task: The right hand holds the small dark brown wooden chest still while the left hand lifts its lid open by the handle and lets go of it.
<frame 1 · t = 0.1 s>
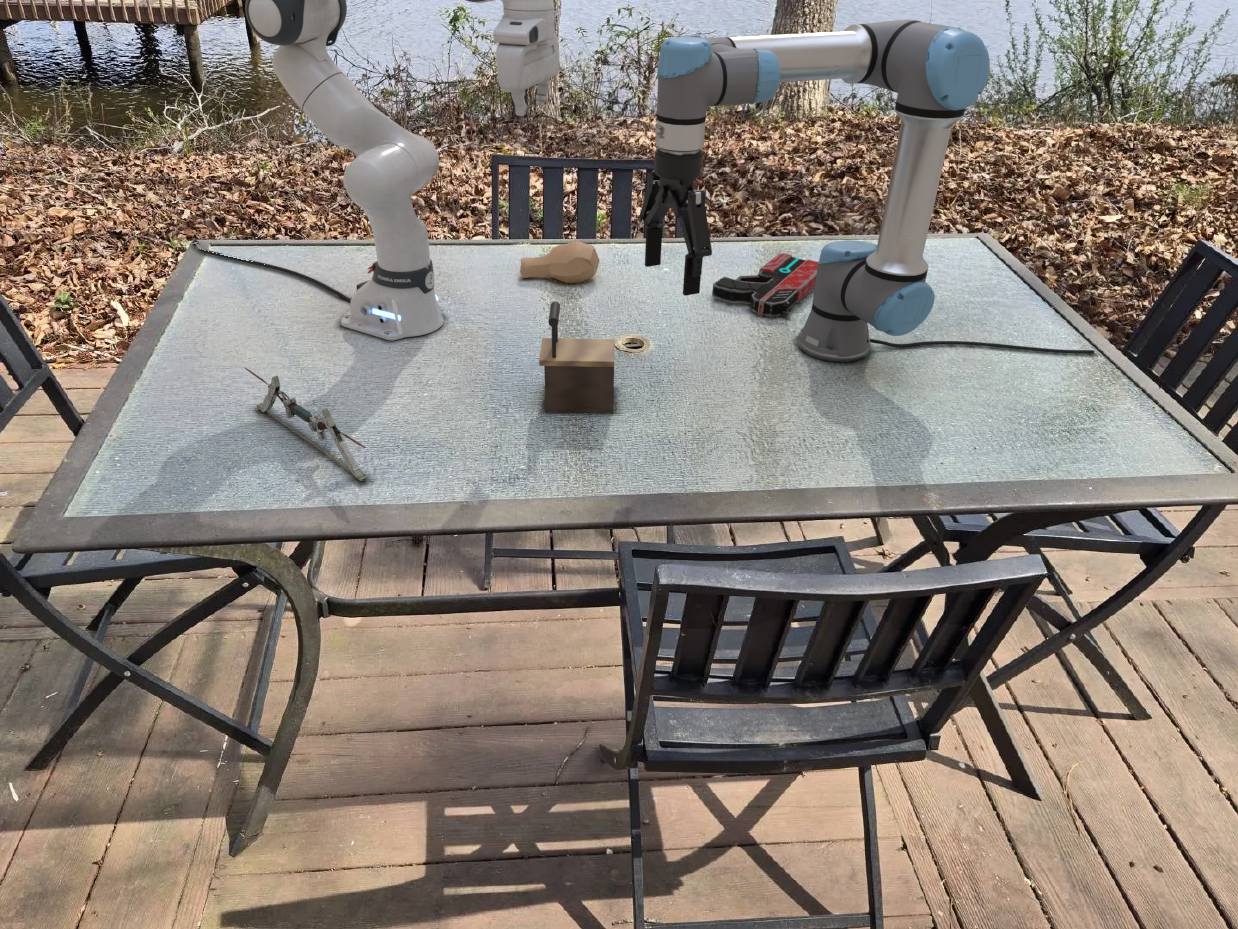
left hand: (531, 109, 161), 48 cm above the table, tool pointing down, fingers open, 8 cm apart
right hand: (671, 279, 147), 28 cm above the table, tool pointing down, fingers open, 13 cm apart
squash: (559, 278, 220), on the table
chest: (580, 400, 169), on the table
lid: (577, 332, 161), point 14 cm above the table, hinge at 0.0°
bow: (309, 442, 154), on the table
gun: (770, 291, 216), on the table
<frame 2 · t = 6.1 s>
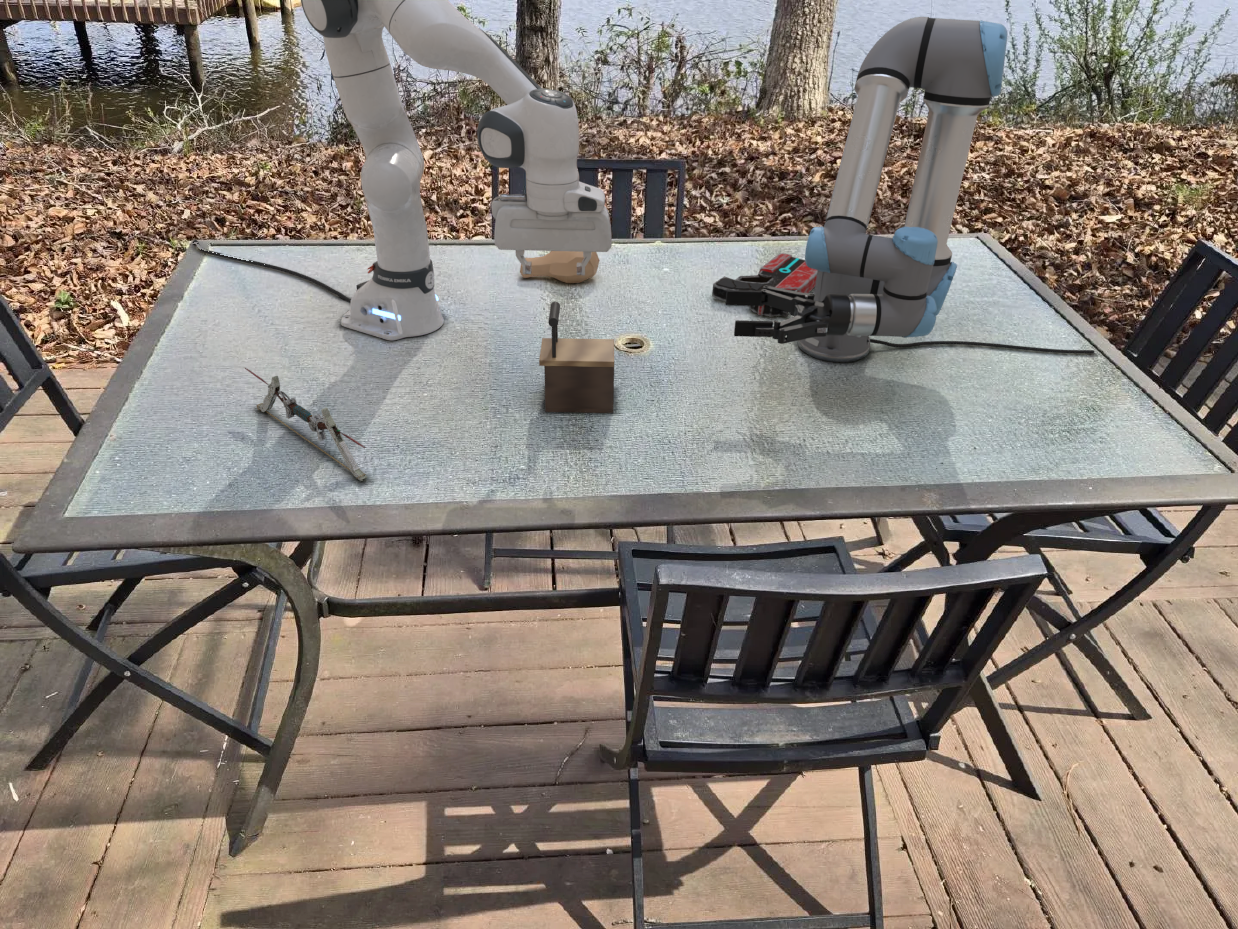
left hand: (554, 273, 155), 26 cm above the table, tool pointing down, fingers open, 8 cm apart
right hand: (730, 312, 159), 19 cm above the table, tool horizontal, fingers open, 13 cm apart
nothing on the table moved.
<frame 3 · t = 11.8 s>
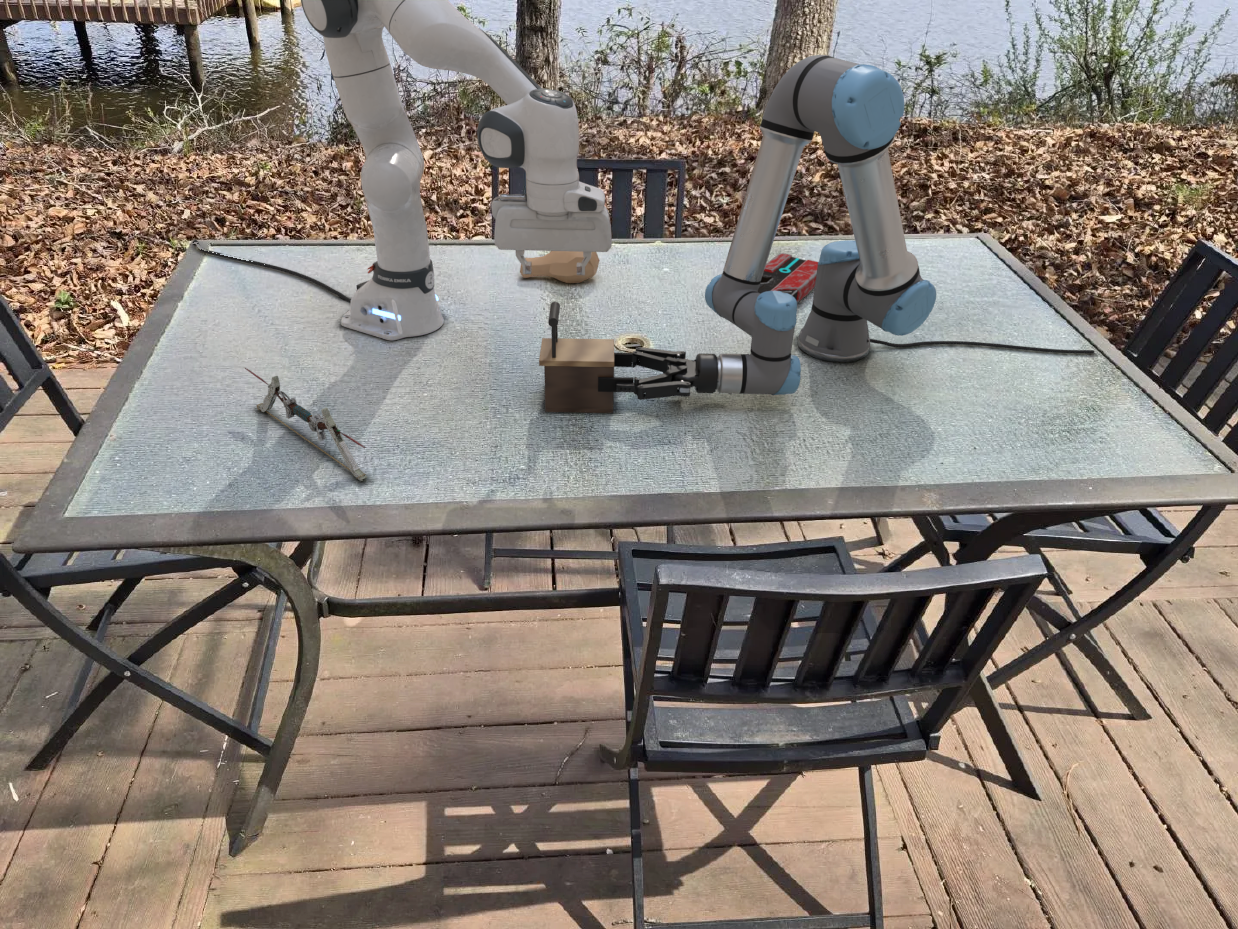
left hand: (554, 273, 155), 26 cm above the table, tool pointing down, fingers open, 8 cm apart
right hand: (598, 371, 165), 6 cm above the table, tool horizontal, fingers closed on chest, 9 cm apart
chest: (580, 400, 169), on the table, touching right hand
everything else where it was.
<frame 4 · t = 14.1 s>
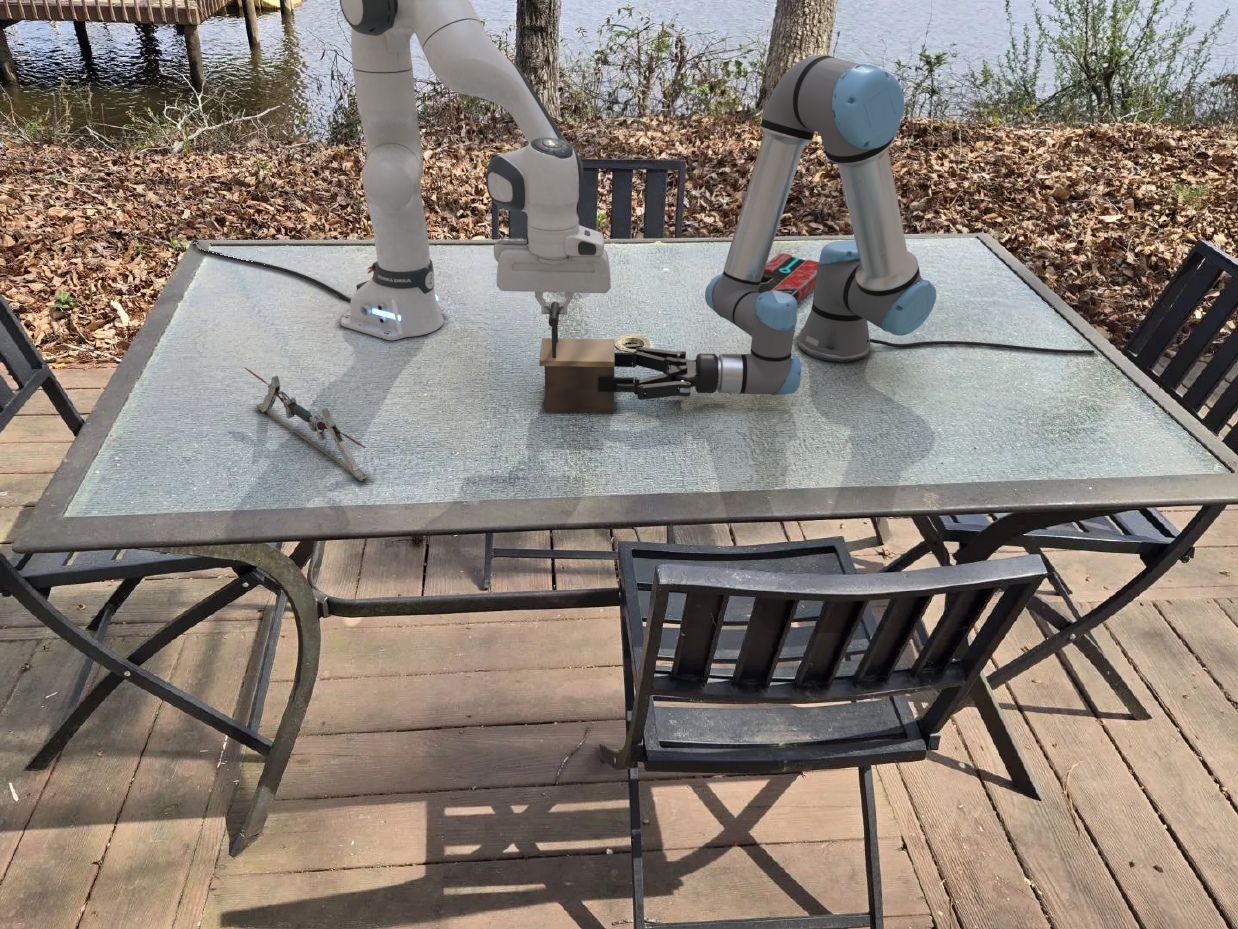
left hand: (554, 313, 159), 18 cm above the table, tool pointing down, fingers closed on lid, 2 cm apart
right hand: (598, 371, 165), 6 cm above the table, tool horizontal, fingers closed on chest, 9 cm apart
chest: (580, 400, 169), on the table, touching right hand
lid: (577, 332, 161), point 14 cm above the table, hinge at -0.1°, touching left hand
everything else where it was.
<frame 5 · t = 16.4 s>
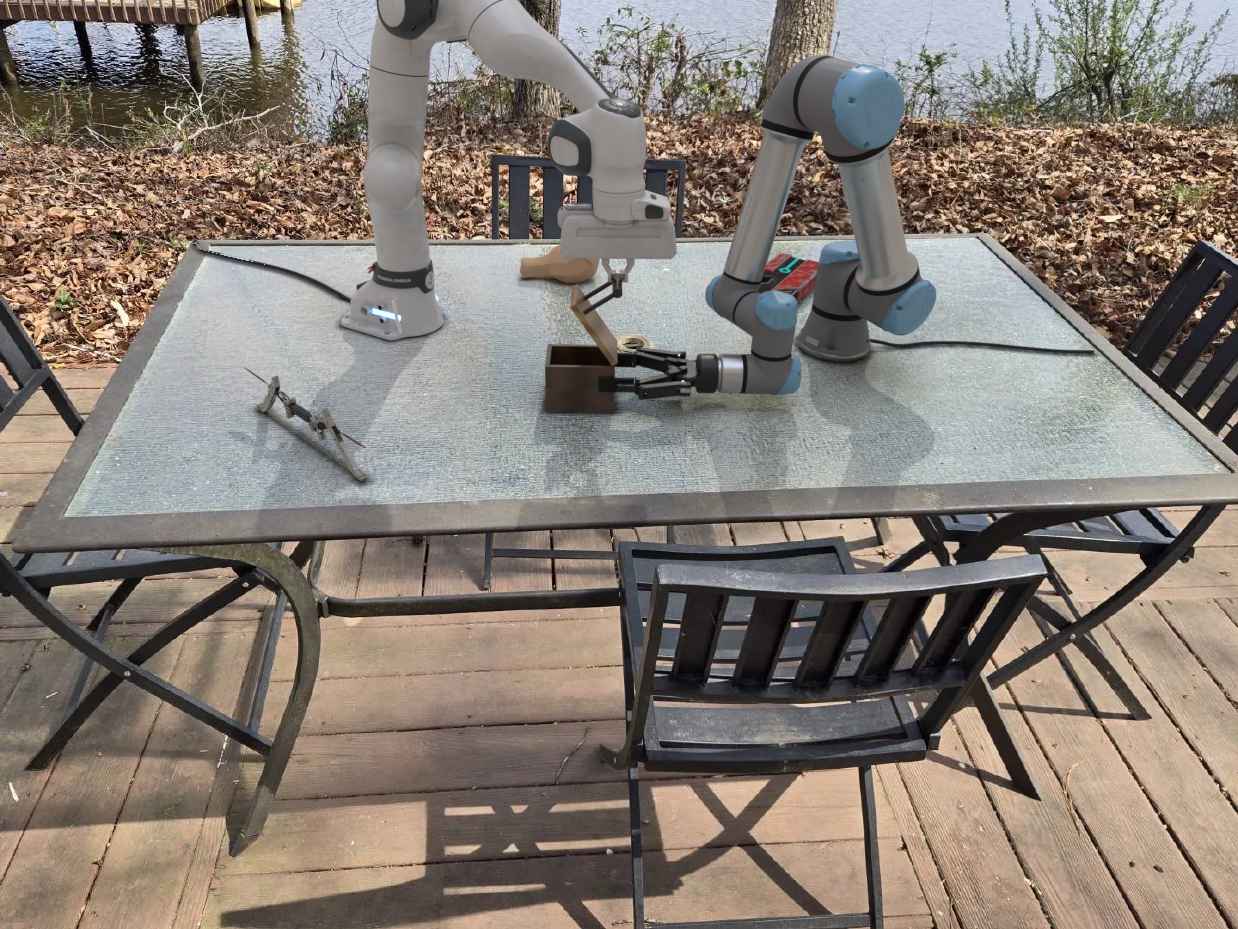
left hand: (617, 281, 155), 24 cm above the table, tool pointing down, fingers closed, pressing on lid
right hand: (598, 371, 165), 6 cm above the table, tool horizontal, fingers closed on chest, 9 cm apart
chest: (580, 400, 169), on the table, touching right hand
lid: (612, 313, 159), point 18 cm above the table, hinge at 55.9°, touching left hand
everything else where it was.
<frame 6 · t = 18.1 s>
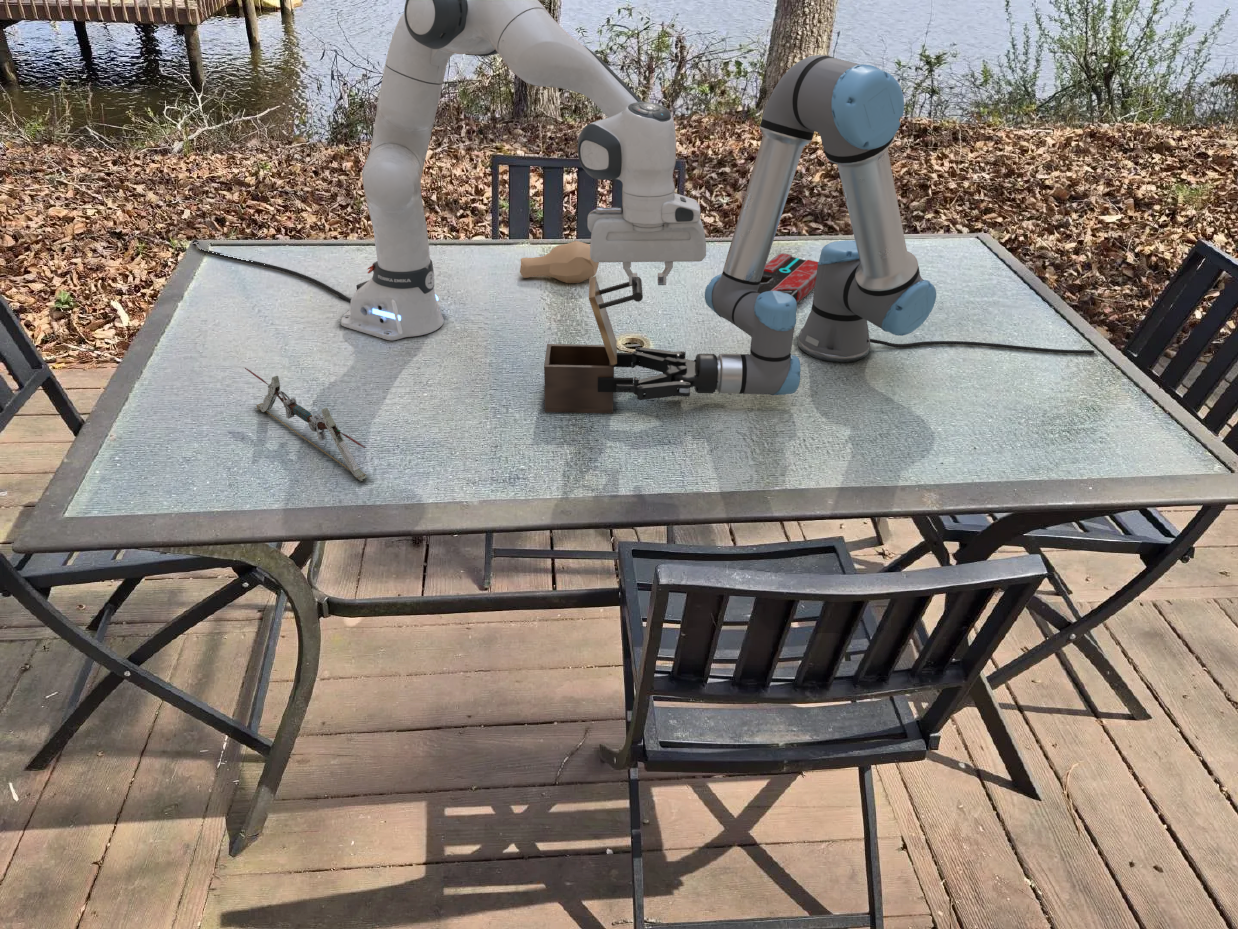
left hand: (647, 284, 156), 24 cm above the table, tool pointing down, fingers open, 4 cm apart
right hand: (598, 371, 165), 6 cm above the table, tool horizontal, fingers closed on chest, 9 cm apart
chest: (579, 400, 169), on the table, touching right hand
lid: (624, 314, 159), point 18 cm above the table, hinge at 72.1°, touching left hand
everything else where it was.
when the right hand's fingers open (6 cm above the table, at t = 21.5 s): chest stays where it is, on the table.
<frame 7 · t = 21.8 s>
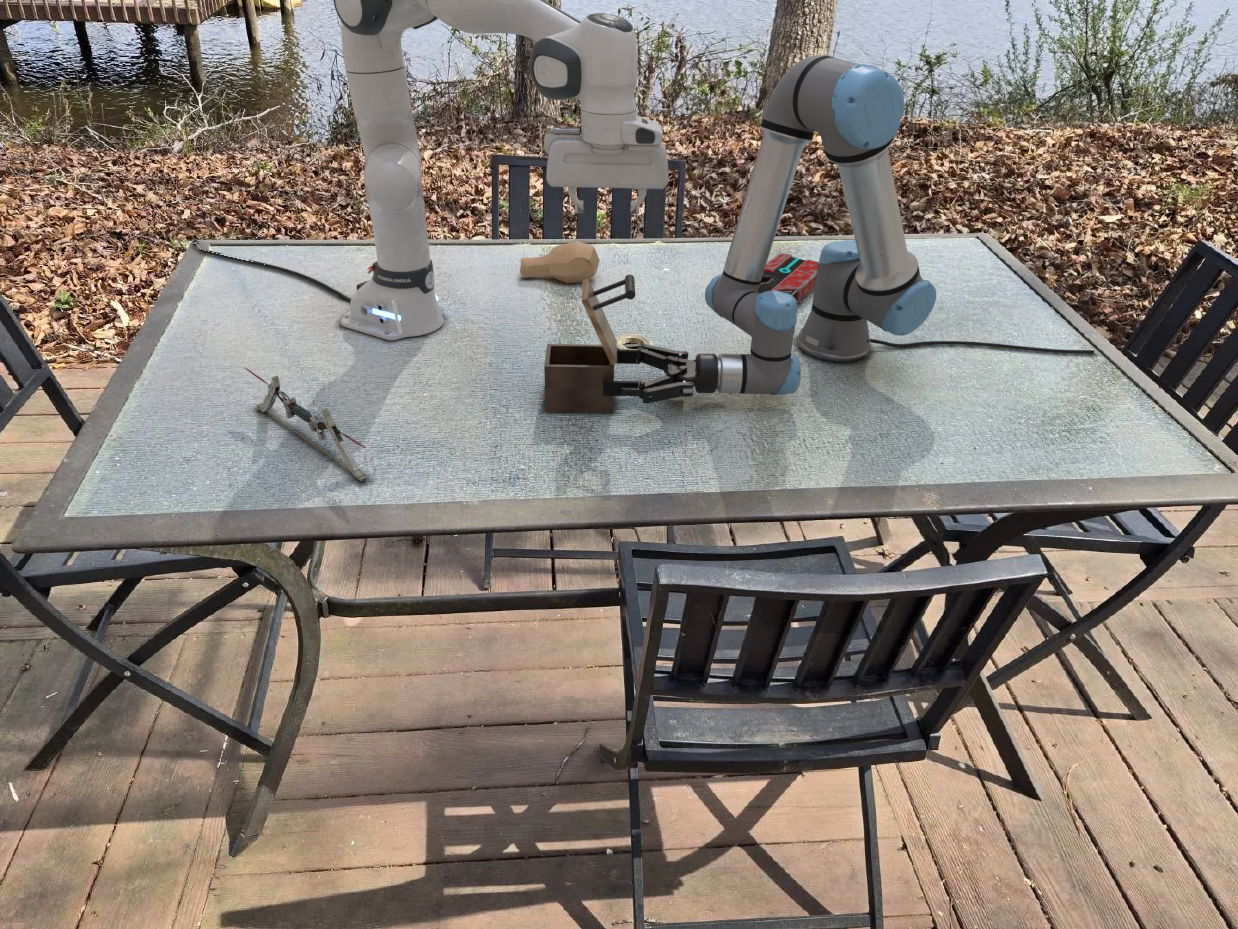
left hand: (606, 212, 149), 37 cm above the table, tool pointing down, fingers open, 8 cm apart
right hand: (602, 371, 165), 6 cm above the table, tool horizontal, fingers open, 12 cm apart
chest: (579, 400, 169), on the table
lid: (619, 313, 159), point 18 cm above the table, hinge at 66.3°
everything else where it was.
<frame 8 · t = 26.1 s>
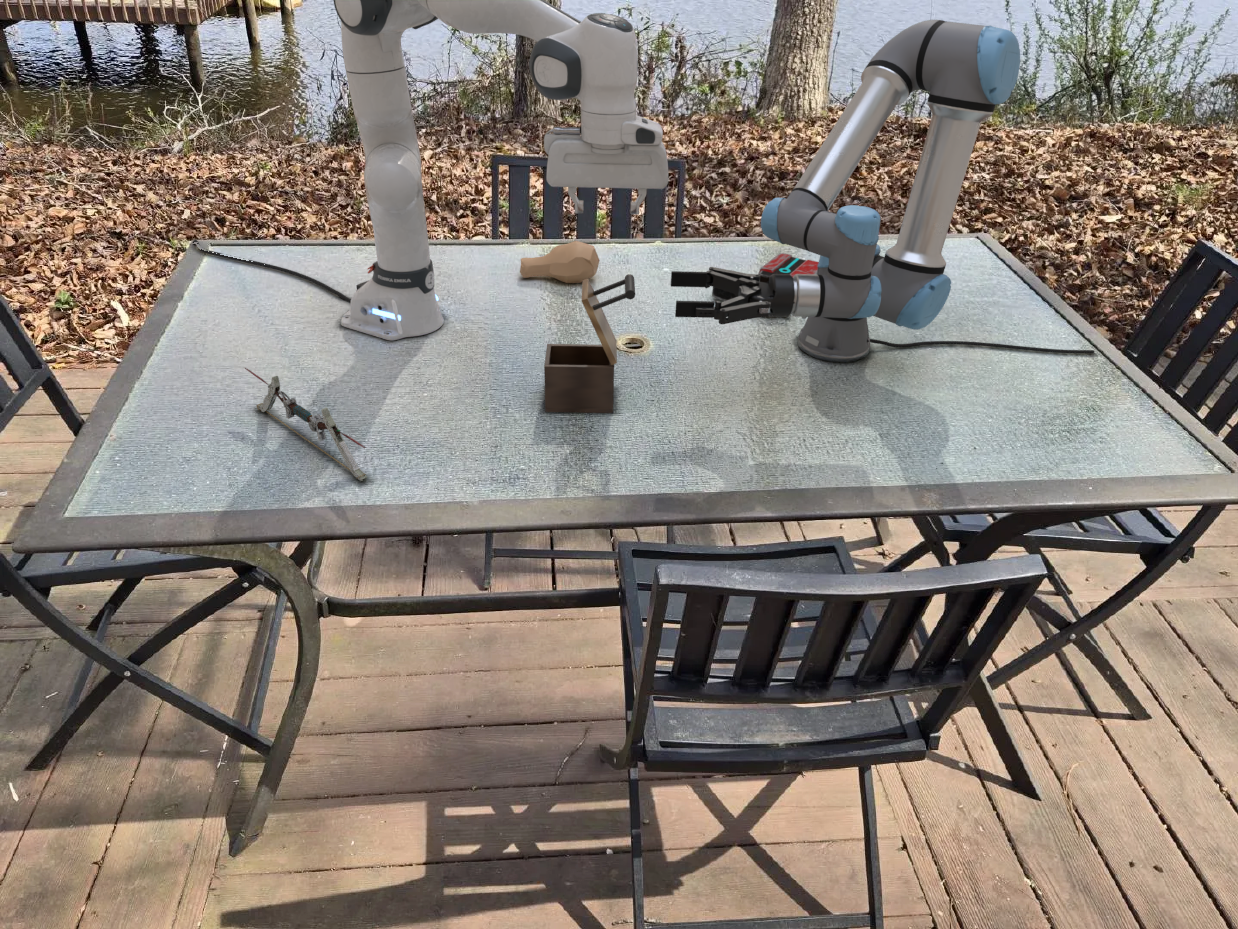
left hand: (606, 212, 149), 37 cm above the table, tool pointing down, fingers open, 8 cm apart
right hand: (673, 293, 157), 22 cm above the table, tool horizontal, fingers open, 13 cm apart
nothing on the table moved.
at the end: lid at +66° (first picture: +0°); the left hand is holding nothing; the right hand is holding nothing; chest tilted 0°; chest never tilted more than 1° during the clip; chest moved 0.0 cm from its start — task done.
